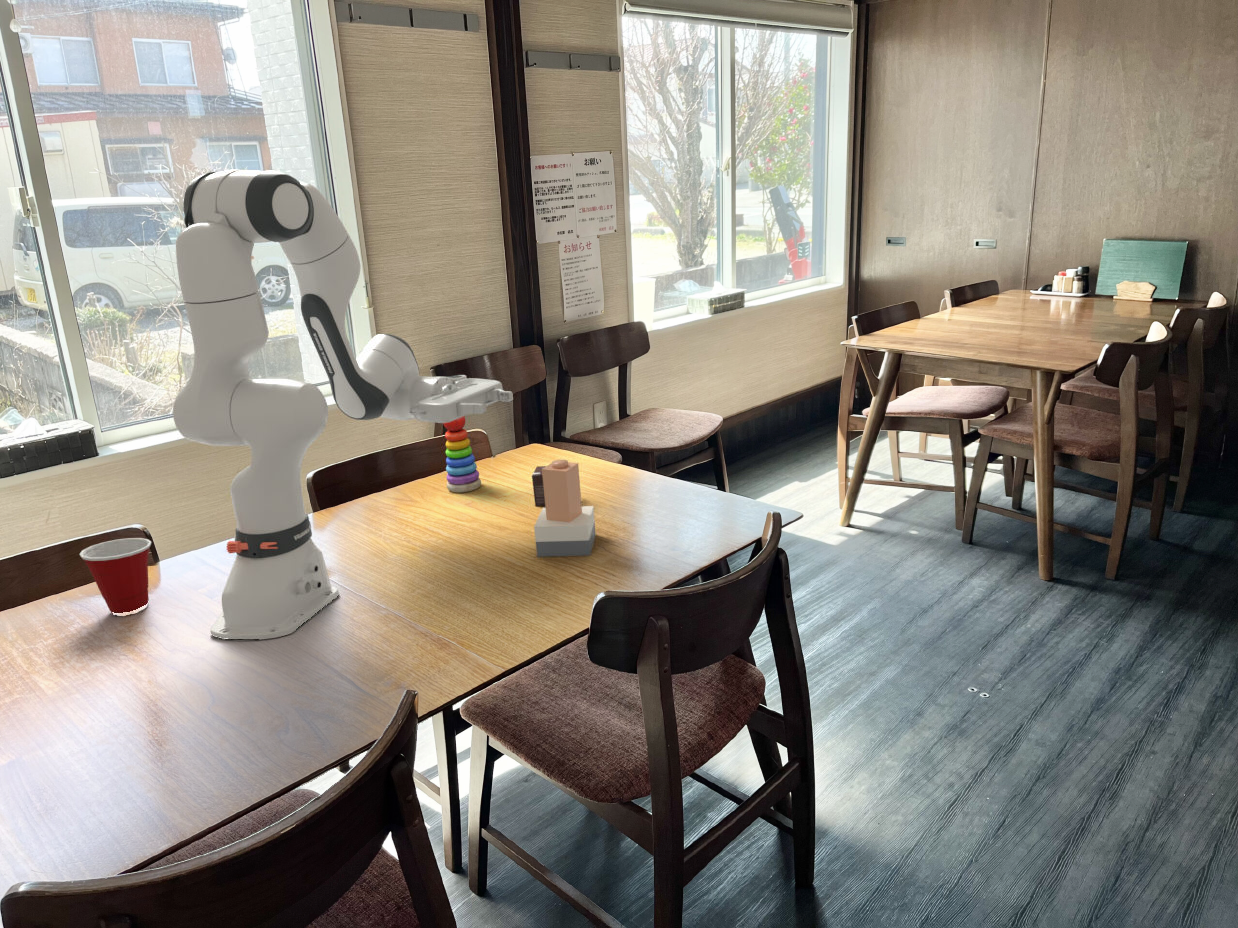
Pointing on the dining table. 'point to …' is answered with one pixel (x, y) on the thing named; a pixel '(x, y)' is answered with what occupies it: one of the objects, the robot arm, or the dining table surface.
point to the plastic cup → (120, 572)
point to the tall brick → (562, 491)
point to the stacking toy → (460, 459)
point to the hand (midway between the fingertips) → (497, 402)
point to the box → (538, 486)
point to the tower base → (566, 547)
